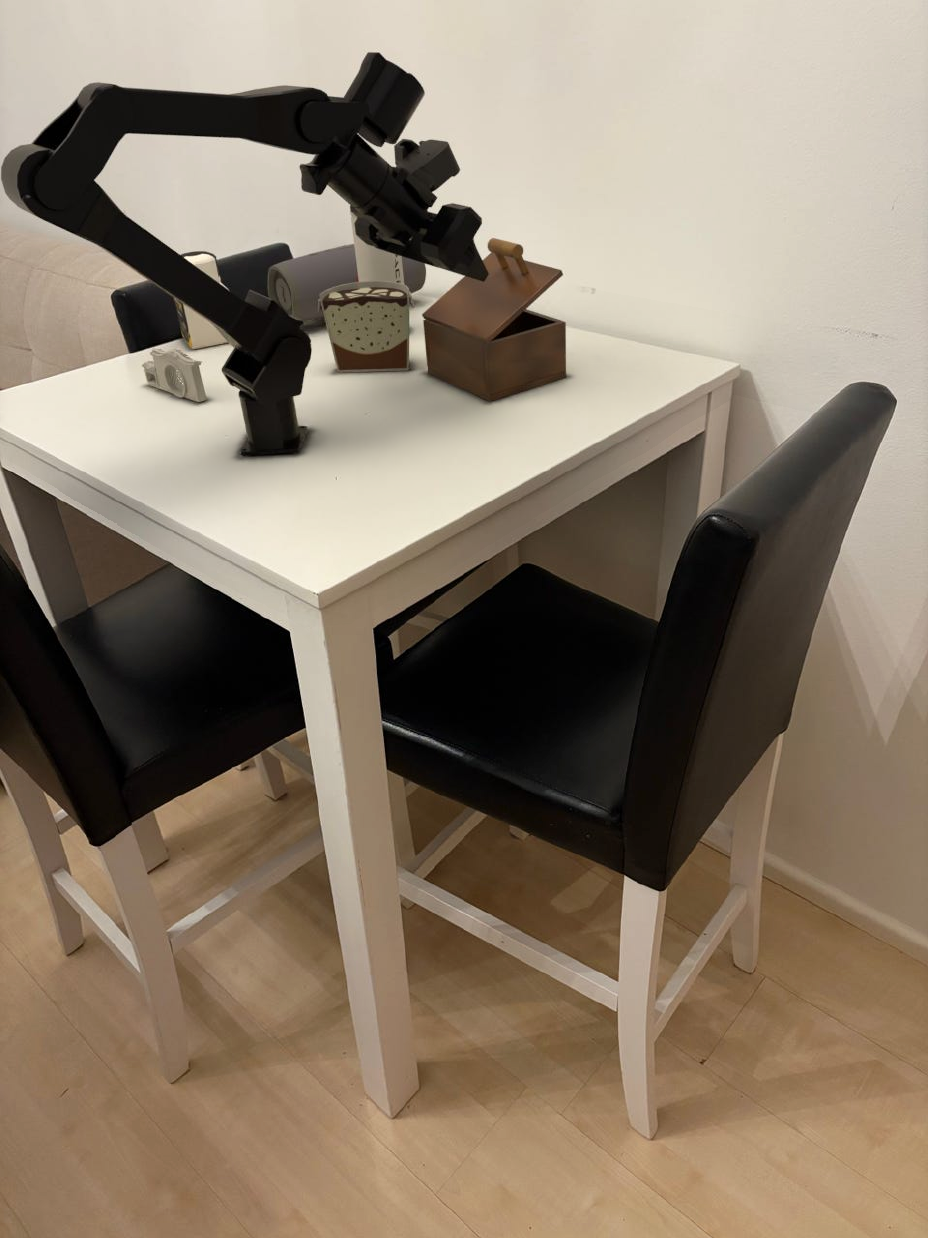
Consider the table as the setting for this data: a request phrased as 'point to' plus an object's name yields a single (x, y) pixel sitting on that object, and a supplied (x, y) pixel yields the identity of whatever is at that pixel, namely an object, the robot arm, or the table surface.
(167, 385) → the grey toy camera
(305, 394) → the table surface
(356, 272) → the bluetooth speaker
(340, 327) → the food container
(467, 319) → the tea box lid
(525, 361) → the tea box
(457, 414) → the table surface
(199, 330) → the medicine bottle
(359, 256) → the travel mug
